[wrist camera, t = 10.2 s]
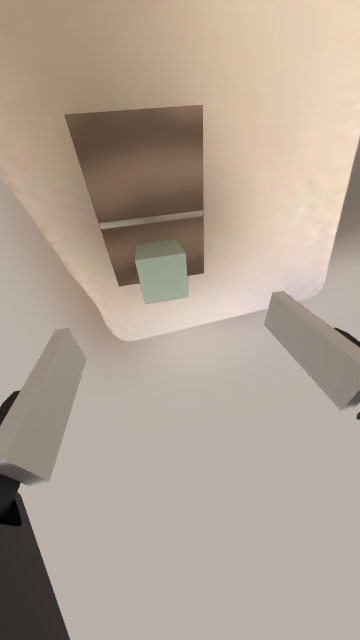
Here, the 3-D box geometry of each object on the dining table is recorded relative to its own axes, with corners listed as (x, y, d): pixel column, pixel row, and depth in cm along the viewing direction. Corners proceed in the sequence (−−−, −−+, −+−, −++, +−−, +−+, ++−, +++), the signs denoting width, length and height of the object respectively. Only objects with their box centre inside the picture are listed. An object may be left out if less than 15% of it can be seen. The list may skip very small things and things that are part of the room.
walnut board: (77, 126, 18) (64, 114, 15) (192, 118, 20) (202, 104, 16) (121, 275, 28) (118, 286, 25) (196, 263, 29) (203, 273, 26)
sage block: (135, 244, 22) (134, 260, 18) (176, 238, 23) (185, 253, 18) (144, 281, 25) (145, 304, 21) (179, 276, 26) (188, 297, 21)
